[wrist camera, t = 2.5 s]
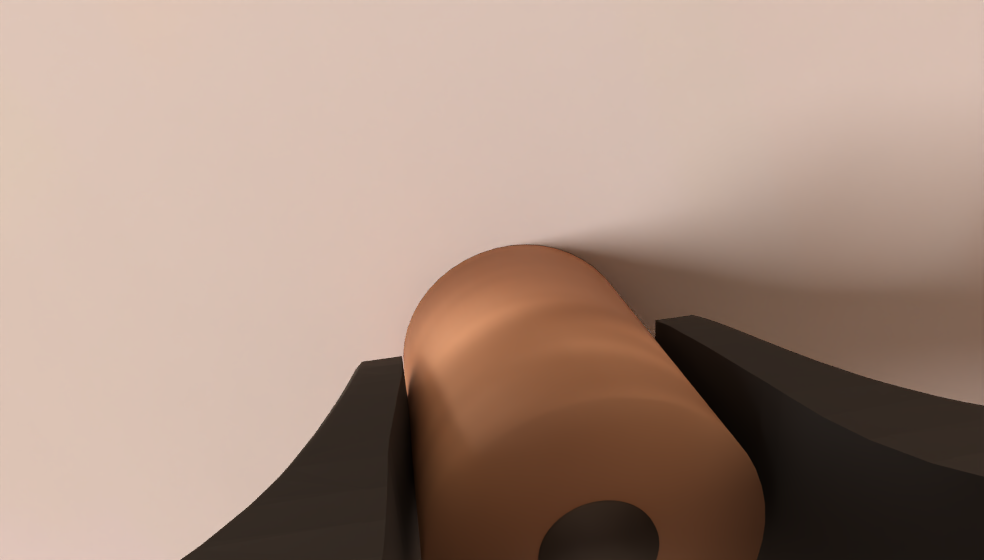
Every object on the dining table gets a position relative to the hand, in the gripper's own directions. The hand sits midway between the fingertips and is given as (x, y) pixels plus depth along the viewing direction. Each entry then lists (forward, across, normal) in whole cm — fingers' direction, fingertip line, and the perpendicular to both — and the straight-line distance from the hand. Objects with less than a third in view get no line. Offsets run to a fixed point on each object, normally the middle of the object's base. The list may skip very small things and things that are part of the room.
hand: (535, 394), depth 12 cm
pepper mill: (+1, 0, 0) cm, 1 cm away
